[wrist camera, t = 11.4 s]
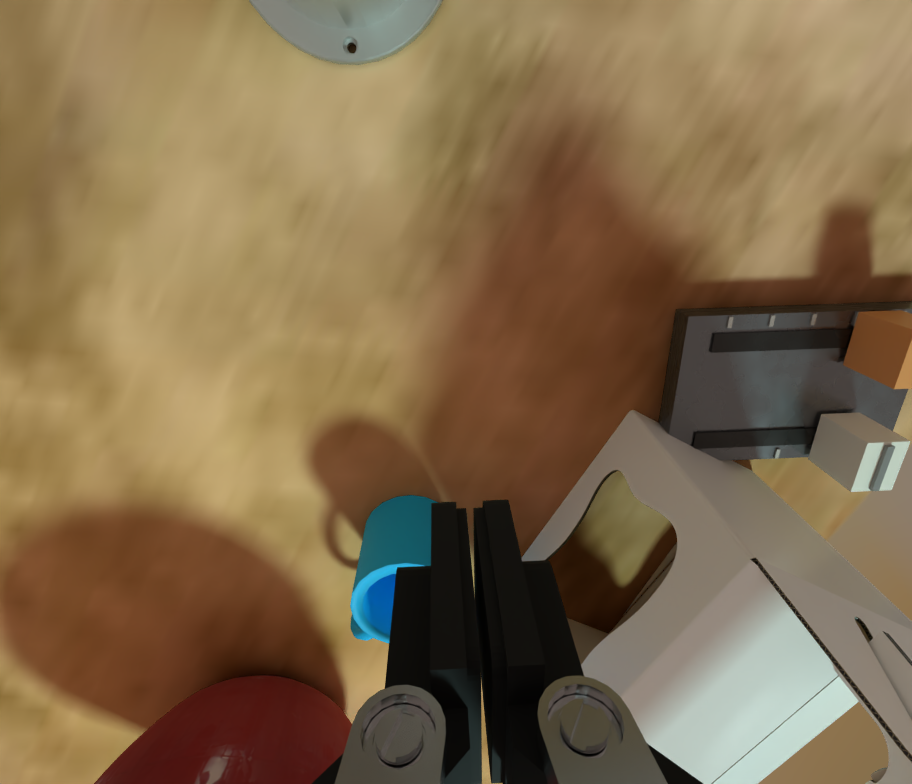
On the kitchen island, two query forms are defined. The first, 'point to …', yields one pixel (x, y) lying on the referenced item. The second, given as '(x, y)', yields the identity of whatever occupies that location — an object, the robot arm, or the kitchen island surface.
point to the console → (767, 378)
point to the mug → (388, 561)
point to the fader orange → (882, 347)
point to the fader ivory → (858, 451)
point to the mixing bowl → (238, 737)
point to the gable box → (738, 620)
